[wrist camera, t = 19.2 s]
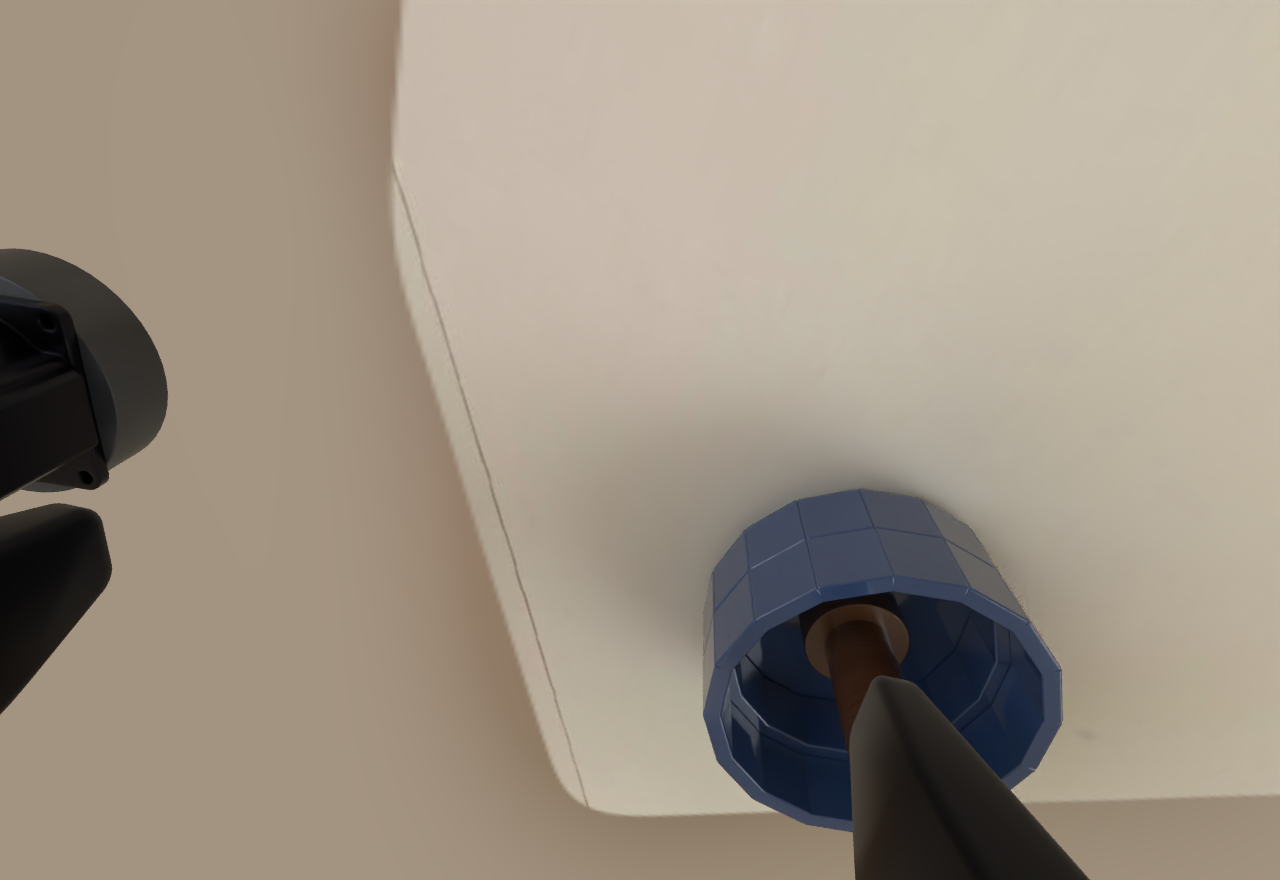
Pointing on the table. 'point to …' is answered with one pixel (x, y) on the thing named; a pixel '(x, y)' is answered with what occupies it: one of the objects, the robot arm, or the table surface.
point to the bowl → (936, 662)
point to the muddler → (855, 647)
